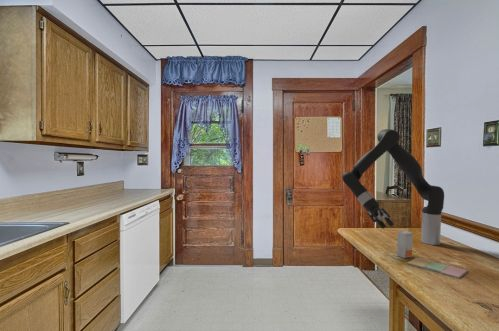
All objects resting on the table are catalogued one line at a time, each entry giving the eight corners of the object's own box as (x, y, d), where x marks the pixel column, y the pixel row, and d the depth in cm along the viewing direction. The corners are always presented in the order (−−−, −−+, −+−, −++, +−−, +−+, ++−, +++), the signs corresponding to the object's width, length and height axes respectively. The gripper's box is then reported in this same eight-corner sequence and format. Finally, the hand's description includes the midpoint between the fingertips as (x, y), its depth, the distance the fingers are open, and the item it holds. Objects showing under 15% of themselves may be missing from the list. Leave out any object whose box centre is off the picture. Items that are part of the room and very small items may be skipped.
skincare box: (404, 258, 137) (405, 234, 137) (396, 255, 141) (397, 231, 140) (412, 256, 140) (413, 232, 139) (404, 254, 143) (405, 230, 143)
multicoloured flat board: (417, 258, 137) (417, 256, 137) (467, 271, 122) (467, 270, 122) (406, 263, 130) (406, 262, 130) (459, 278, 114) (459, 277, 114)
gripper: (366, 198, 148) (387, 224, 140) (379, 196, 157) (400, 220, 149) (356, 206, 153) (376, 232, 144) (370, 204, 161) (389, 228, 153)
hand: (388, 226), depth 146 cm, fingers open, 8 cm apart
